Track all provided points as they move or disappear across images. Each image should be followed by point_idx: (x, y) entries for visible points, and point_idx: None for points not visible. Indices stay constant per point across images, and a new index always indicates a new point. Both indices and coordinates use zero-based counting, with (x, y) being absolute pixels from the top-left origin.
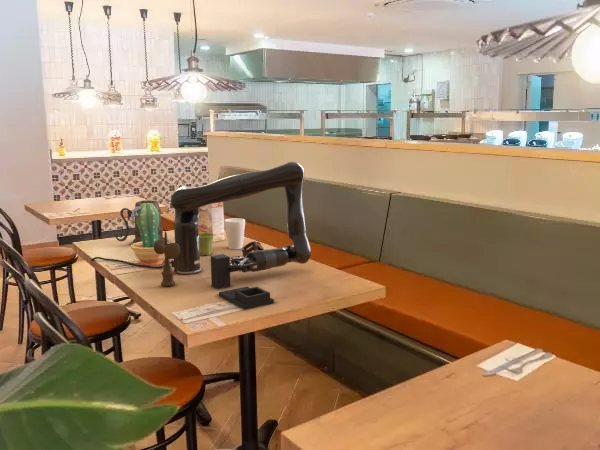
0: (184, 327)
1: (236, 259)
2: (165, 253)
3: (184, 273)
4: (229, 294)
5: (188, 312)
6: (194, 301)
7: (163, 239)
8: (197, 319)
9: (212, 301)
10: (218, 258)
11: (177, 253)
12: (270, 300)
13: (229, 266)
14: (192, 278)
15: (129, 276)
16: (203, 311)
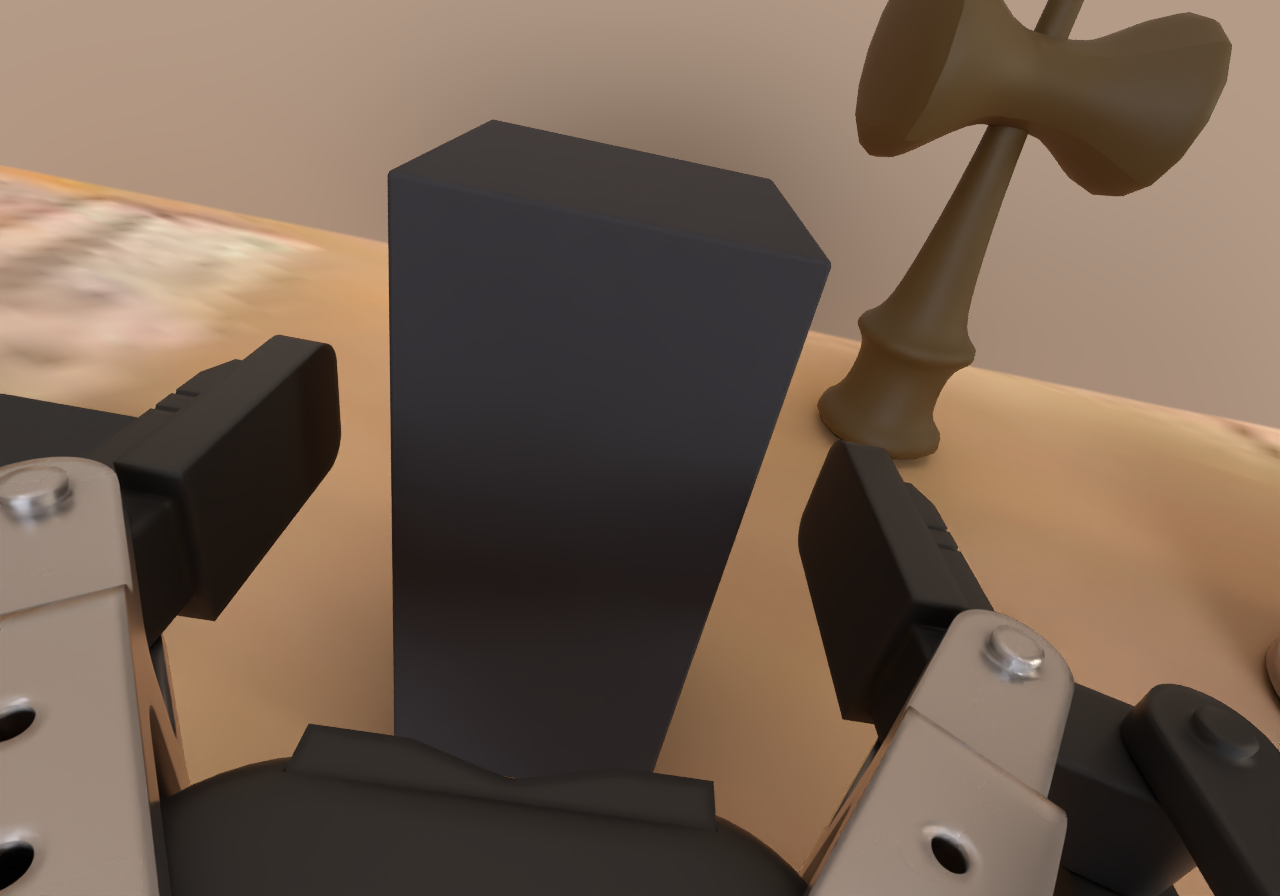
0: (58, 180)
1: (821, 868)
2: (864, 65)
3: (1272, 653)
4: (24, 439)
5: (209, 255)
6: (349, 340)
7: (1206, 19)
8: (49, 221)
9: (187, 375)
10: (489, 125)
11: (901, 100)
12: None
13: (276, 340)
14: (1073, 642)
15: (1185, 433)
16: (103, 274)
